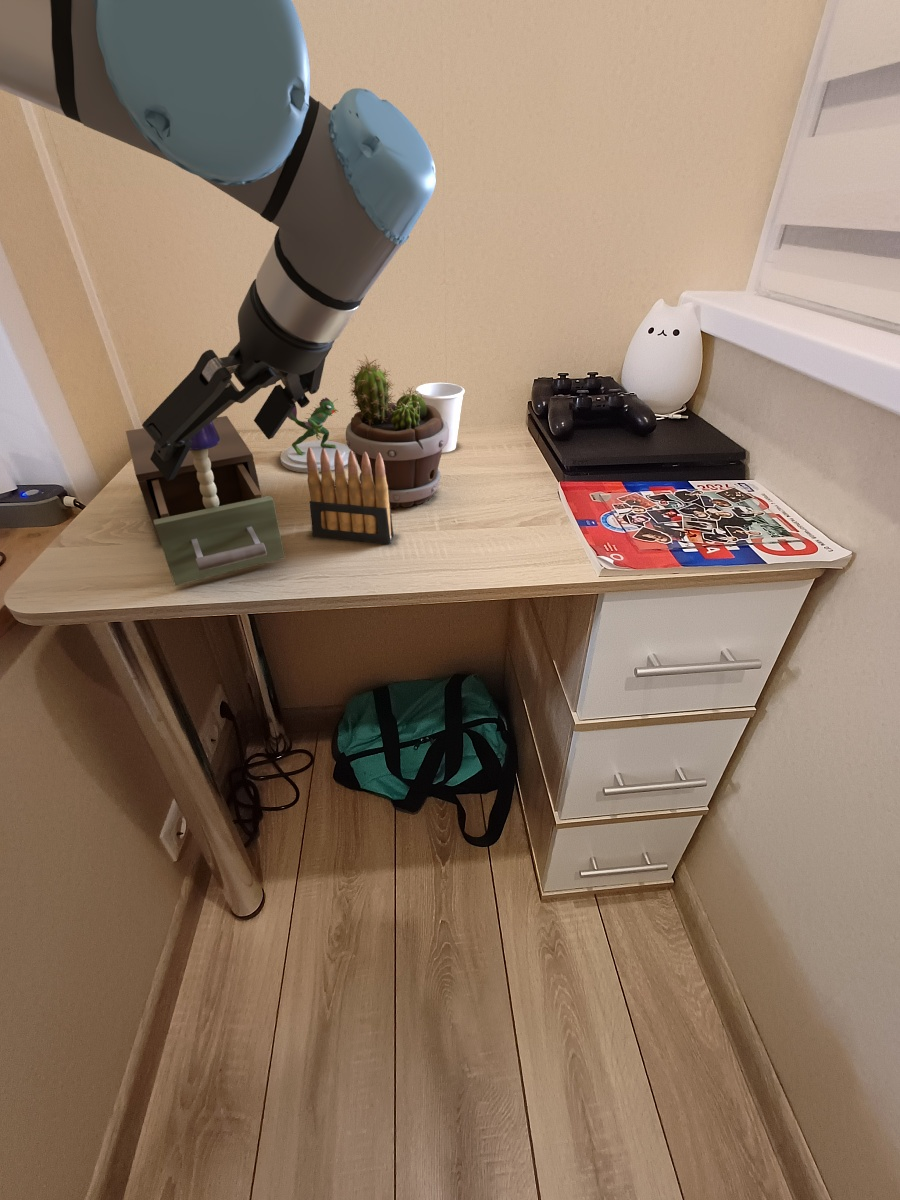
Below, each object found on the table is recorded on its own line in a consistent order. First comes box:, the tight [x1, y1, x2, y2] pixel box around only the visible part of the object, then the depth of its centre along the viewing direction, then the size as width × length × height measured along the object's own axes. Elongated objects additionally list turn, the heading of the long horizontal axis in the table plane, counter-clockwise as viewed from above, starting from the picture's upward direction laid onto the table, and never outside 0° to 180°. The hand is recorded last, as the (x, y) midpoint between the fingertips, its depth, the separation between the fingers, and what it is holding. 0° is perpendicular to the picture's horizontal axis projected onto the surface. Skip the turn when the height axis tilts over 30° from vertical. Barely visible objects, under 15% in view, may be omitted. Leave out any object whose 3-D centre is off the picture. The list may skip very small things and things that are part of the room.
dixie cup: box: [414, 382, 465, 454], centre depth 99 cm, size 8×8×10 cm
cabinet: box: [125, 415, 262, 546], centre depth 80 cm, size 17×14×10 cm
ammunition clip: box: [307, 447, 395, 545], centre depth 72 cm, size 11×2×12 cm, turn 79°
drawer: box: [151, 463, 286, 586], centre depth 68 cm, size 22×13×8 cm, turn 28°
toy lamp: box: [189, 422, 220, 509], centre depth 65 cm, size 5×5×17 cm
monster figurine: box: [279, 397, 353, 474], centre depth 94 cm, size 12×12×10 cm
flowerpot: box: [345, 353, 449, 509], centre depth 81 cm, size 14×15×20 cm
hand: (216, 447), depth 62 cm, fingers open, 13 cm apart
